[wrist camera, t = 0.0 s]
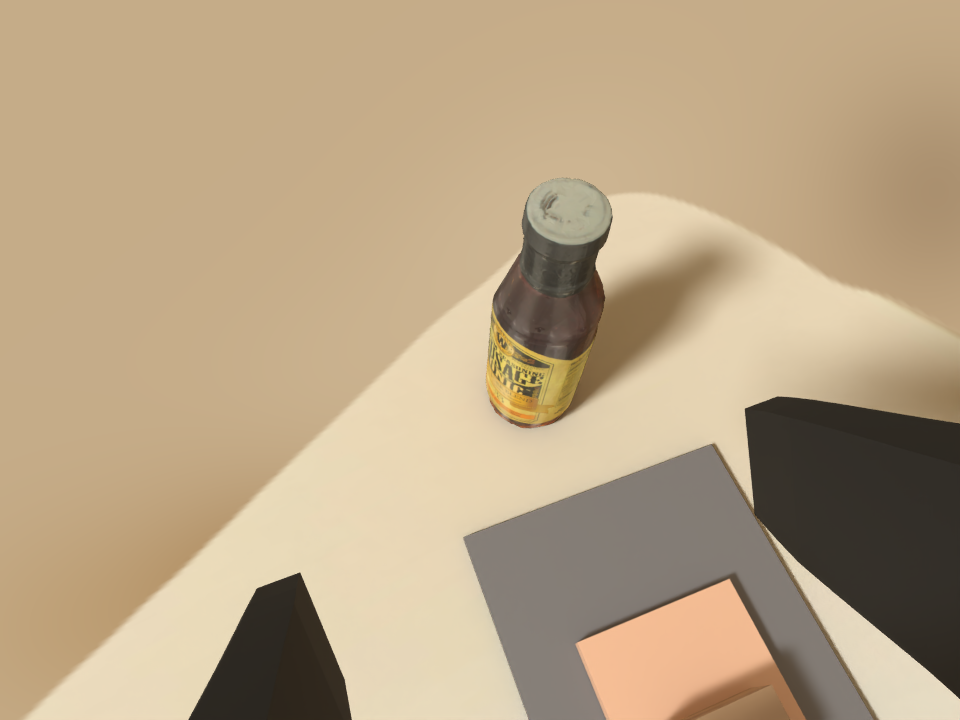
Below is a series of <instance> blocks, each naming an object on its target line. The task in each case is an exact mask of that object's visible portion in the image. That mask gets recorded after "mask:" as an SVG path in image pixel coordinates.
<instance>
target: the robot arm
mask: <svg viewBox="0 0 960 720" xmlns="http://www.w3.org/2000/svg"><path fill="white" fill-rule="evenodd" d="M745 416H746V427H747V437H748V448H749V458H750V469H751V479H752V490H753V500H754V511H755V515H756V516H757V518H758V519H759V520H760V521H761V522H762V523H763V524H764V525H765V527H766V528H767V529H768V530H769V531H770V532H771V533H772V534H773V536H774V537H775V538H776V539H777V540H778V541H779V542H780V543H781V544H782V545H783V546H784V547H785V549H786V550H787V551H788V552H789V553H790V554H791V555H792V556H793V557H794V558H795V559H796V560H797V561H798V562H799V563H800V564H801V565H802V566H803V567H805V568H806V569H807V570H808V571H809V572H810V573H812V574H813V575H814V576H815V577H816V578H817V579H819V580H820V581H821V582H822V583H823V584H825V585H826V586H827V587H828V588H829V589H830V590H832V591H833V592H834V593H835V594H836V595H838V596H839V597H840V598H841V599H842V600H844V601H845V602H846V603H847V604H848V605H850V606H851V607H852V608H853V609H854V610H856V611H857V612H858V613H859V614H860V615H862V616H863V617H864V618H865V619H867V620H868V621H869V622H870V623H871V624H873V625H874V626H875V627H876V628H877V629H879V630H880V631H881V632H882V633H883V634H885V635H886V636H887V637H888V638H889V639H891V640H892V641H893V642H894V643H896V644H897V645H898V646H899V647H900V648H902V649H903V650H904V651H905V652H906V653H908V654H909V655H910V656H911V657H912V658H914V659H915V660H916V661H917V662H918V663H920V664H921V665H922V666H923V667H925V668H926V669H927V670H928V671H929V672H930V673H931V674H933V675H934V676H935V677H936V678H937V679H938V680H939V681H940V682H942V683H943V684H944V685H945V686H946V687H947V688H948V689H949V690H951V691H952V692H953V693H954V694H955V695H956V696H957V697H958V698H959V699H960V424H959V423H953V422H946V421H940V420H933V419H927V418H921V417H915V416H909V415H902V414H897V413H891V412H885V411H879V410H873V409H867V408H861V407H855V406H849V405H843V404H837V403H830V402H823V401H817V400H809V399H801V398H792V397H775V398H772V399H770V400H767V401H764V402H762V403H759V404H756V405H753V406H751V407H748V408H745ZM189 720H352V719H351V713H350V708H349V702H348V696H347V691H346V685H345V680H344V677H343V675H342V672H341V670H340V668H339V665H338V663H337V660H336V658H335V655H334V653H333V651H332V648H331V646H330V643H329V641H328V639H327V636H326V634H325V631H324V629H323V626H322V624H321V622H320V619H319V617H318V614H317V612H316V610H315V607H314V605H313V602H312V600H311V597H310V595H309V593H308V590H307V588H306V585H305V583H304V581H303V578H302V576H301V573H297V574H295V575H292V576H289V577H287V578H284V579H281V580H278V581H276V582H273V583H270V584H268V585H265V586H262V587H259V588H257V589H256V591H255V593H254V595H253V597H252V598H251V600H250V602H249V604H248V606H247V608H246V610H245V612H244V614H243V616H242V618H241V620H240V622H239V624H238V626H237V628H236V630H235V632H234V634H233V636H232V638H231V640H230V642H229V644H228V646H227V648H226V650H225V652H224V654H223V656H222V658H221V660H220V661H219V663H218V665H217V667H216V669H215V671H214V673H213V675H212V677H211V679H210V681H209V682H208V684H207V686H206V688H205V690H204V692H203V694H202V695H201V697H200V699H199V701H198V703H197V705H196V707H195V708H194V710H193V712H192V714H191V716H190V718H189Z"/></svg>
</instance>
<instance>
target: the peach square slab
mask: <svg viewBox="0 0 960 720" xmlns="http://www.w3.org/2000/svg"><path fill="white" fill-rule="evenodd" d="M575 645H576V647H577V649H578V652H579V654H580V657H581V659H582V662H583V664H584V666H585V669H586V671H587V674H588V676H589V679H590V681H591V683H592V686H593V688H594V691H595V693H596V696H597V698H598V700H599V703H600V705H601V708H602V710H603V713H604V715H605V717H606V720H806V719H805V717H804V715H803V713H802V711H801V709H800V708H799V706H798V704H797V702H796V700H795V698H794V697H793V695H792V693H791V691H790V689H789V687H788V685H787V684H786V682H785V680H784V678H783V676H782V674H781V673H780V671H779V669H778V667H777V665H776V663H775V662H774V660H773V658H772V656H771V654H770V652H769V651H768V649H767V647H766V645H765V643H764V641H763V640H762V638H761V636H760V634H759V632H758V630H757V628H756V627H755V625H754V623H753V621H752V619H751V617H750V616H749V614H748V612H747V610H746V608H745V606H744V605H743V603H742V601H741V599H740V597H739V595H738V594H737V592H736V590H735V588H734V586H733V584H732V583H731V581H730V579H728V580H725V581H723V582H721V583H718V584H716V585H713V586H711V587H709V588H706V589H704V590H702V591H699V592H697V593H694V594H692V595H690V596H687V597H685V598H682V599H680V600H678V601H675V602H673V603H670V604H668V605H666V606H663V607H661V608H658V609H656V610H654V611H651V612H649V613H646V614H644V615H642V616H639V617H637V618H635V619H632V620H630V621H627V622H625V623H623V624H620V625H618V626H615V627H613V628H611V629H608V630H606V631H603V632H601V633H599V634H596V635H594V636H591V637H589V638H587V639H584V640H582V641H580V642H577V643H576V644H575Z"/></svg>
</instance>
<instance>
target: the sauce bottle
mask: <svg viewBox="0 0 960 720" xmlns="http://www.w3.org/2000/svg"><path fill="white" fill-rule="evenodd" d="M612 218H613V216H612V209H611V206H610V203H609V201H608V199H607V198H606V196H605V195H604V194H603V193H602V192H600V191H599V190H598V189H597V188H596V187H595V186H594V185H592V184H590V183H588V182H585V181H583V180H580V179H569V178H557V179H552V180H550V181H547V182H544V183H542V184H541V185H540V186H538V187H537V188H535V189H534V190H533V191H532V192H531V194H530V195H529V197H528V200H527V202H526V205H525V210H524V215H523V219H522V229H523V234H524V238H523V239H524V242H523V248H522V251H521V253H520V254H519V255H518V257H517V259H516V260H515V262H514V264H513V265H512V267H511V268H510V270H509V272H508V273H507V275H506V277H505V278H504V280H503V281H502V283H501V285H500V286H499V288H498V289H497V291H496V293H495V295H494V298H493V303H492V314H491V326H490V339H489V349H488V362H487V373H486V386H487V391H488V394H489V397H490V402H491V404H492V406H493V407H494V410H495V412H496V413H497V414H499V415H500V416H501V417H502V418H504V419H505V420H507V421H508V422H510V423H511V424H515V425H517V426H519V427H521V428H534V427H540V426H544V425H549V424H551V423H553V422H555V421H556V420H557V419H558V418H559V417H560V416H561V415H562V413H563V412H564V411H565V410H566V409H567V408H568V407H569V405H570V403H571V401H572V399H573V396H574V393H575V391H576V388H577V385H578V383H579V380H580V378H581V375H582V372H583V369H584V367H585V364H586V361H587V358H588V355H589V353H590V350H591V347H592V344H593V342H594V339H595V336H596V333H597V327H598V323H599V321H600V318H601V315H602V312H603V308H604V301H605V295H604V290H603V284H602V282H601V279H600V277H599V275H598V272H597V271H596V266H595V262H596V258H597V255H598V252H599V250H600V249H601V248H602V247H603V246H604V244H605V242H606V240H607V238H608V234H609V231H610V226H611V223H612Z"/></svg>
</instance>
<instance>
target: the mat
mask: <svg viewBox="0 0 960 720" xmlns="http://www.w3.org/2000/svg"><path fill="white" fill-rule="evenodd" d="M464 542H465V545H466V547H467V550H468V553H469V556H470V558H471V561H472V564H473V567H474V569H475V572H476V575H477V578H478V581H479V583H480V586H481V589H482V592H483V594H484V597H485V600H486V603H487V605H488V608H489V611H490V614H491V617H492V619H493V622H494V625H495V628H496V630H497V633H498V636H499V639H500V641H501V644H502V647H503V650H504V652H505V655H506V658H507V661H508V664H509V666H510V669H511V672H512V675H513V677H514V680H515V683H516V686H517V688H518V691H519V694H520V697H521V700H522V702H523V705H524V708H525V711H526V713H527V716H528V719H529V720H606V717H605V715H604V713H603V710H602V708H601V705H600V703H599V700H598V698H597V696H596V693H595V691H594V688H593V686H592V683H591V681H590V679H589V676H588V674H587V671H586V669H585V666H584V664H583V662H582V659H581V657H580V654H579V652H578V649H577V647H576V645H575V644H576V643H577V642H580V641H582V640H584V639H587V638H589V637H591V636H594V635H596V634H599V633H601V632H603V631H606V630H608V629H611V628H613V627H615V626H618V625H620V624H623V623H625V622H627V621H630V620H632V619H635V618H637V617H639V616H642V615H644V614H646V613H649V612H651V611H654V610H656V609H658V608H661V607H663V606H666V605H668V604H670V603H673V602H675V601H678V600H680V599H682V598H685V597H687V596H690V595H692V594H694V593H697V592H699V591H702V590H704V589H706V588H709V587H711V586H713V585H716V584H718V583H721V582H723V581H725V580H728V579H730V581H731V583H732V584H733V586H734V588H735V590H736V592H737V594H738V595H739V597H740V599H741V601H742V603H743V605H744V606H745V608H746V610H747V612H748V614H749V616H750V617H751V619H752V621H753V623H754V625H755V627H756V628H757V630H758V632H759V634H760V636H761V638H762V640H763V641H764V643H765V645H766V647H767V649H768V651H769V652H770V654H771V656H772V658H773V660H774V662H775V663H776V665H777V667H778V669H779V671H780V673H781V674H782V676H783V678H784V680H785V682H786V684H787V685H788V687H789V689H790V691H791V693H792V695H793V697H794V698H795V700H796V702H797V704H798V706H799V708H800V709H801V711H802V713H803V715H804V717H805V719H806V720H874V719H873V718H872V716H871V714H870V713H869V711H868V709H867V707H866V706H865V704H864V702H863V701H862V699H861V697H860V696H859V694H858V692H857V690H856V689H855V687H854V685H853V684H852V682H851V680H850V679H849V677H848V675H847V673H846V672H845V670H844V668H843V667H842V665H841V663H840V662H839V660H838V658H837V656H836V655H835V653H834V651H833V650H832V648H831V646H830V645H829V643H828V641H827V639H826V638H825V636H824V634H823V633H822V631H821V629H820V628H819V626H818V624H817V622H816V621H815V619H814V617H813V616H812V614H811V612H810V611H809V609H808V607H807V605H806V604H805V602H804V600H803V599H802V597H801V595H800V594H799V592H798V590H797V588H796V587H795V585H794V583H793V582H792V580H791V578H790V577H789V575H788V573H787V571H786V570H785V568H784V566H783V565H782V563H781V561H780V560H779V558H778V556H777V554H776V553H775V551H774V549H773V548H772V546H771V544H770V543H769V541H768V539H767V537H766V536H765V534H764V532H763V531H762V529H761V527H760V526H759V524H758V522H757V520H756V519H755V517H754V515H753V514H752V512H751V510H750V509H749V507H748V505H747V503H746V502H745V500H744V498H743V497H742V495H741V493H740V492H739V490H738V488H737V486H736V485H735V483H734V481H733V480H732V478H731V476H730V475H729V473H728V471H727V469H726V468H725V466H724V464H723V463H722V461H721V459H720V458H719V456H718V454H717V453H716V451H715V449H714V447H713V446H712V444H711V445H708V446H706V447H703V448H700V449H698V450H695V451H692V452H690V453H687V454H684V455H682V456H679V457H676V458H674V459H671V460H668V461H666V462H663V463H660V464H658V465H655V466H652V467H650V468H647V469H644V470H642V471H639V472H636V473H634V474H631V475H628V476H626V477H623V478H620V479H618V480H615V481H612V482H610V483H607V484H604V485H602V486H599V487H596V488H593V489H591V490H588V491H585V492H583V493H580V494H577V495H575V496H572V497H569V498H567V499H564V500H561V501H559V502H556V503H553V504H551V505H548V506H545V507H543V508H540V509H537V510H535V511H532V512H529V513H527V514H524V515H521V516H519V517H516V518H513V519H511V520H508V521H505V522H503V523H500V524H497V525H495V526H492V527H489V528H487V529H484V530H481V531H479V532H476V533H473V534H471V535H468V536H465V537H464Z"/></svg>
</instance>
